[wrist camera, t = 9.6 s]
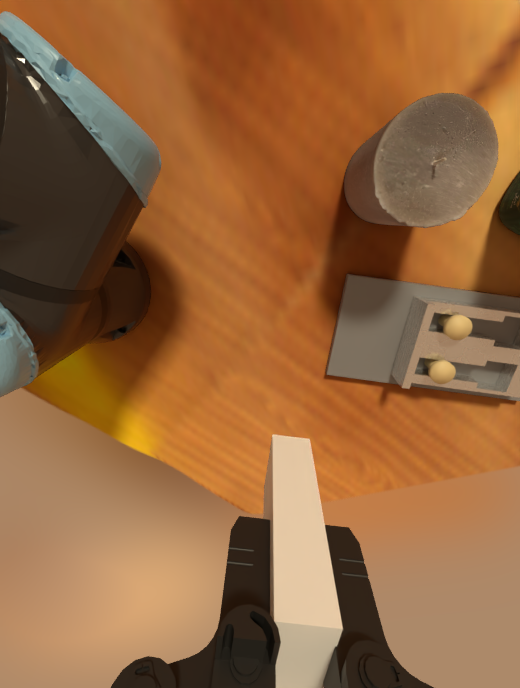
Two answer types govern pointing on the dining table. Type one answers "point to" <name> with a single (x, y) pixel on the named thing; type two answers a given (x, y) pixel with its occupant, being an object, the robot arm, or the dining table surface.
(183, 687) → the robot arm
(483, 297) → the board
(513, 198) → the coffee jar
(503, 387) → the keyhole panel
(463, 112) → the pillar candle
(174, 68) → the dining table surface
